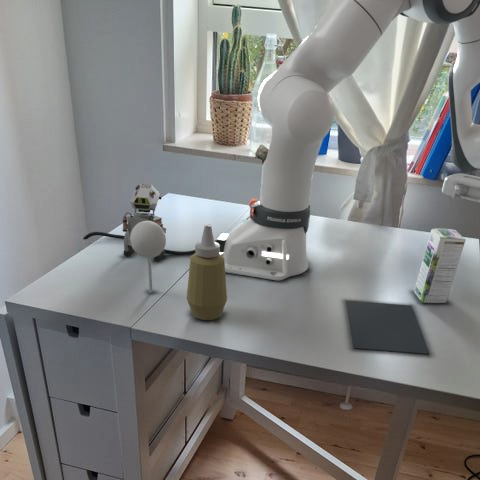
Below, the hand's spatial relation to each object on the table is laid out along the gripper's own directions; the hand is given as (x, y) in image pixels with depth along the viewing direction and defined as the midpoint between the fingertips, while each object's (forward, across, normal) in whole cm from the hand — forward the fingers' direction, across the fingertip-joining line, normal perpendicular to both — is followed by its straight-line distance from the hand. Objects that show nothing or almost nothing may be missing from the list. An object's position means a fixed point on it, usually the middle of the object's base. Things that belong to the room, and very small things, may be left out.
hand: (476, 199), depth 122 cm
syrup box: (+12, 0, +19) cm, 22 cm away
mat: (+31, -1, +19) cm, 37 cm away
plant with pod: (0, -55, +19) cm, 58 cm away
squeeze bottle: (+53, -30, +19) cm, 64 cm away
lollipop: (+54, -46, +19) cm, 73 cm away
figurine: (+39, -62, +19) cm, 75 cm away
